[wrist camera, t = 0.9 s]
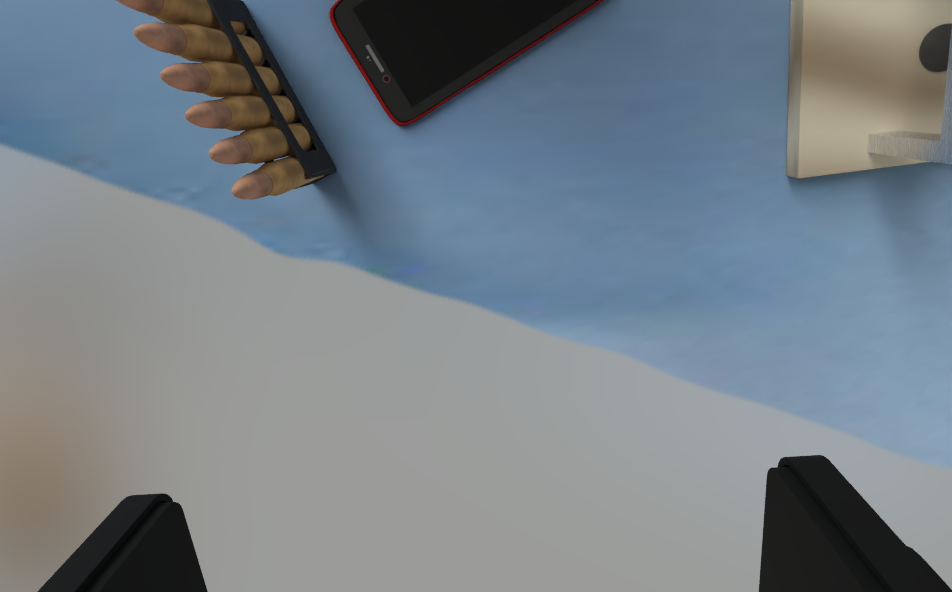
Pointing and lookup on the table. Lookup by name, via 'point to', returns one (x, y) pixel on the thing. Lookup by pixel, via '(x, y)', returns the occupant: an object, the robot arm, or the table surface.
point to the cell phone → (441, 44)
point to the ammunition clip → (237, 92)
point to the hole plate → (862, 79)
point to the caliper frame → (920, 135)
